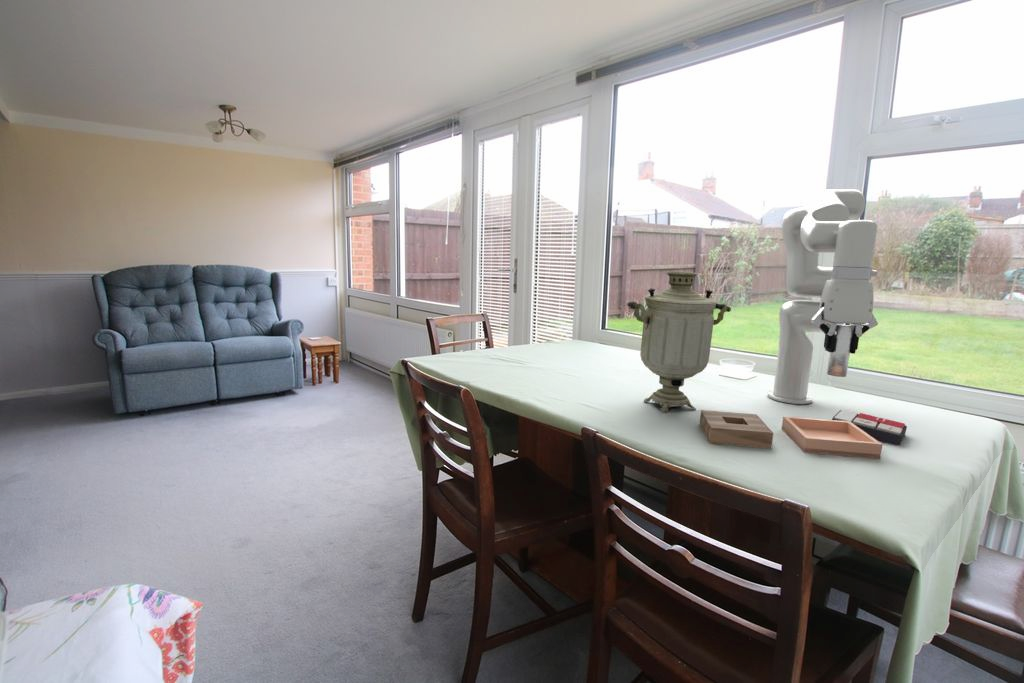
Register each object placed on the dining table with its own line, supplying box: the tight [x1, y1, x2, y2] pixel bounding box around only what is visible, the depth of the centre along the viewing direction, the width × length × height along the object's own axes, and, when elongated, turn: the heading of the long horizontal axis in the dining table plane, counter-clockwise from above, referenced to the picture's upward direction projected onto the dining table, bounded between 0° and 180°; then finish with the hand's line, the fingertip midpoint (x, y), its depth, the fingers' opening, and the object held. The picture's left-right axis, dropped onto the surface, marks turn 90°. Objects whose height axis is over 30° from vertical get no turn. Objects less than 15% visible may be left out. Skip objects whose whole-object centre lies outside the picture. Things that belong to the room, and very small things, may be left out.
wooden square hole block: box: [699, 409, 774, 450], centre depth 127 cm, size 14×14×4 cm
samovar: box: [626, 271, 732, 414], centre depth 150 cm, size 30×26×40 cm
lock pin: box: [826, 324, 854, 378], centre depth 120 cm, size 4×4×12 cm
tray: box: [781, 415, 883, 460], centre depth 124 cm, size 16×16×4 cm
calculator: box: [831, 409, 908, 447], centre depth 132 cm, size 11×4×15 cm
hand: (839, 351), depth 120 cm, fingers closed on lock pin, 4 cm apart
